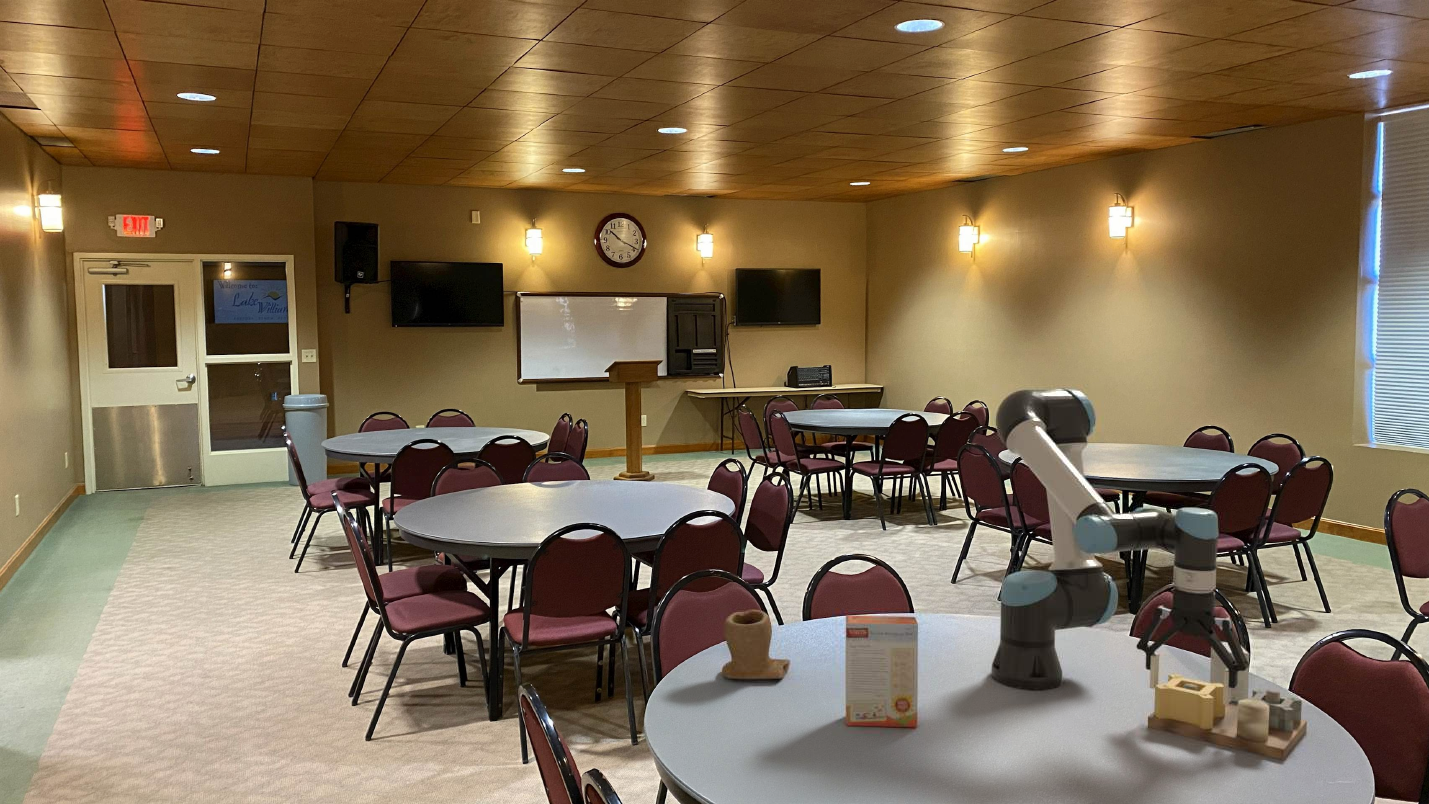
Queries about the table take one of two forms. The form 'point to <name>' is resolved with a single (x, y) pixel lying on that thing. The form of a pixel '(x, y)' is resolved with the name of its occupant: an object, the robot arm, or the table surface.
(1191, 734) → the board
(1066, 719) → the table surface
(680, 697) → the table surface
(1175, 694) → the tan notched block
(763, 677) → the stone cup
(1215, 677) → the small box
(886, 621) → the cracker box
